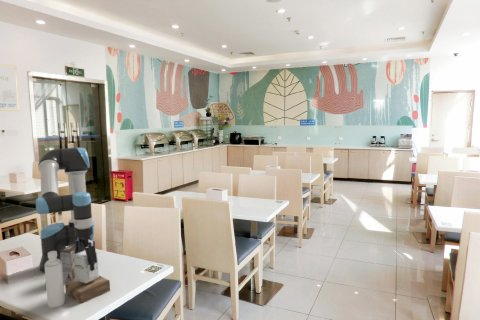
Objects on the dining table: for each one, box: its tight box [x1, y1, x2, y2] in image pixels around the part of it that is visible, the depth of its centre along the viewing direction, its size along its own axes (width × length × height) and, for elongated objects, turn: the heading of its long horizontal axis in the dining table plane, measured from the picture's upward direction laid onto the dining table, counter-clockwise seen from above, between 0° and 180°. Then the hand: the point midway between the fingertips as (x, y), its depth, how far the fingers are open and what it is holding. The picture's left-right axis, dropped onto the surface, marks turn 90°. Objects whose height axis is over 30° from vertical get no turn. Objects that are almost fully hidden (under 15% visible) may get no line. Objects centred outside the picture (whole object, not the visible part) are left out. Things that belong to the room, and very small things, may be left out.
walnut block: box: [64, 275, 111, 304], centre depth 160 cm, size 14×14×5 cm
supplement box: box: [74, 250, 100, 283], centre depth 159 cm, size 7×7×13 cm
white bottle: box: [44, 251, 66, 308], centre depth 149 cm, size 7×7×25 cm
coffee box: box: [60, 245, 76, 283], centre depth 174 cm, size 9×6×16 cm
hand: (86, 274), depth 159 cm, fingers closed on supplement box, 8 cm apart
